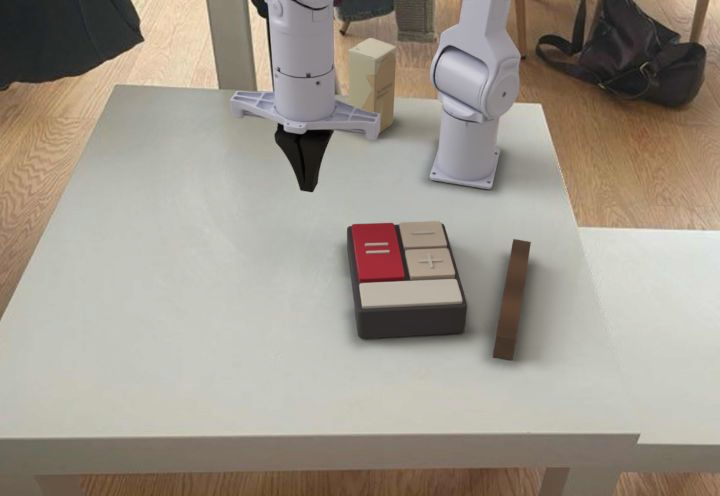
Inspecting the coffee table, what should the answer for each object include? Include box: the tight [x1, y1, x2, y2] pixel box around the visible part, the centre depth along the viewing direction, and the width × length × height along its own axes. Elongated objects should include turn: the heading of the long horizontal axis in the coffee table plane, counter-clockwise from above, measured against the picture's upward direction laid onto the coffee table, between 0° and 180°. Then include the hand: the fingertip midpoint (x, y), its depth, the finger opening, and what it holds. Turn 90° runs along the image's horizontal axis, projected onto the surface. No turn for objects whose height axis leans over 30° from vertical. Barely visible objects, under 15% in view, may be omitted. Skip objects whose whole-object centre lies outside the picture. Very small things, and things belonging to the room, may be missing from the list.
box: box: [347, 37, 397, 134], centre depth 108 cm, size 5×4×11 cm
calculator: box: [346, 220, 468, 339], centre depth 87 cm, size 11×4×15 cm
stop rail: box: [492, 238, 532, 361], centre depth 87 cm, size 16×2×3 cm, turn 171°
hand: (309, 186), depth 86 cm, fingers closed
